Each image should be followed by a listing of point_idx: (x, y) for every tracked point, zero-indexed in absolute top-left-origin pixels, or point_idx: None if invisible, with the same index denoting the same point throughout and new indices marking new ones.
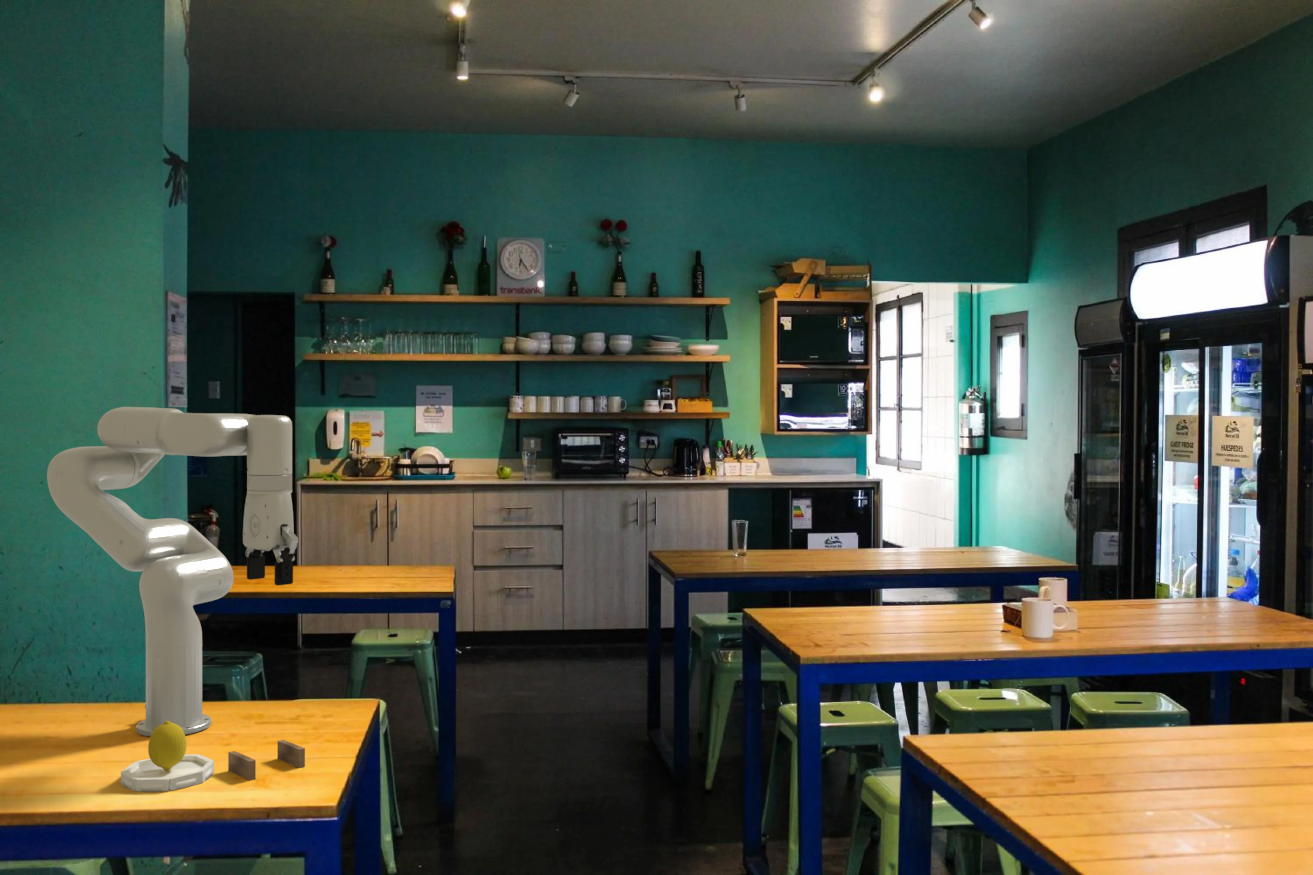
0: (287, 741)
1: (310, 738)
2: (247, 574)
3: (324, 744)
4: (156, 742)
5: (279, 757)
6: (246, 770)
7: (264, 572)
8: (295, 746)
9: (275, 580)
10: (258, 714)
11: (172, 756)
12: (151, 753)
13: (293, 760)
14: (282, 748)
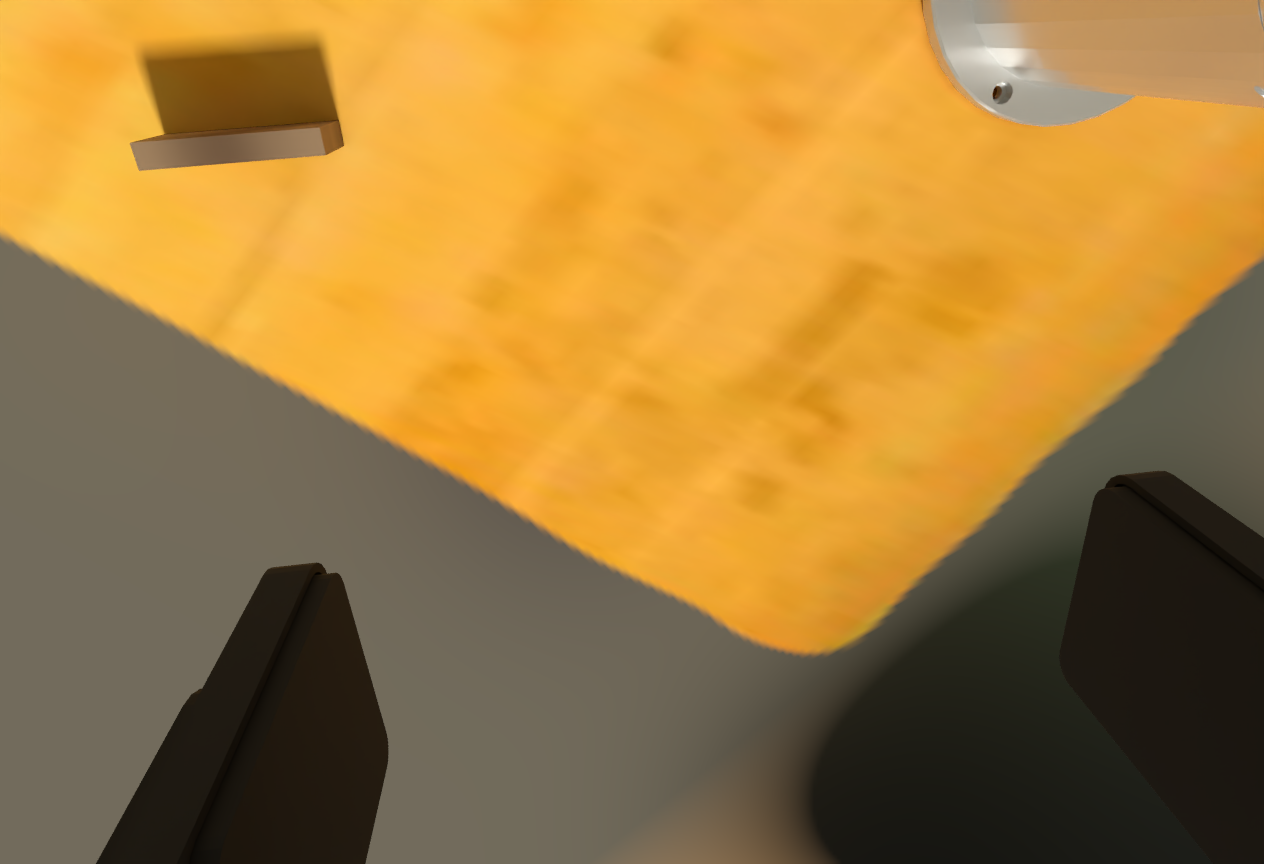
0: (286, 157)
1: (529, 333)
2: (1184, 500)
3: (421, 339)
4: None
5: (320, 122)
6: None
7: (1096, 714)
8: (190, 151)
9: (266, 600)
10: (968, 320)
11: None
12: None
13: (201, 132)
14: (283, 128)
